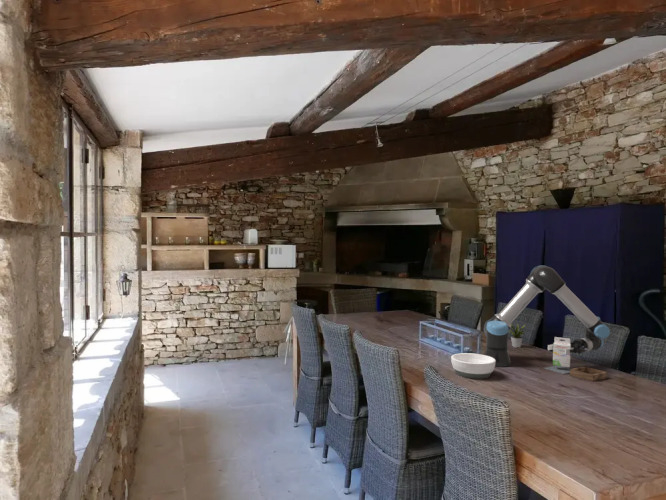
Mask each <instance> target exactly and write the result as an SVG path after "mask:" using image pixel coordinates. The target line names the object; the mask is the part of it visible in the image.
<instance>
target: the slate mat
mask: <svg viewBox="0 0 666 500" xmlns="http://www.w3.org/2000/svg"><path fill="white" fill-rule="evenodd" d="M543 369H545V370H546V371H547V370H548V371H551V372H554V373H558V374H562V375H568V374H570V369H571V368H570V367H564V366H556V365H552V366H547V367H544V368H543Z"/></svg>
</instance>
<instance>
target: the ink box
mask: <svg viewBox="0 0 666 500" xmlns="http://www.w3.org/2000/svg"><path fill="white" fill-rule="evenodd" d="M553 340H554V342H553V343H554V345H553V350H552V366H563V367H567V368H570V367H571V354H572V353H571V354H565V349H568V348H571V344H570V343H571V338H568V337H567V338H566V337H557V336H554V339H553Z"/></svg>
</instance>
